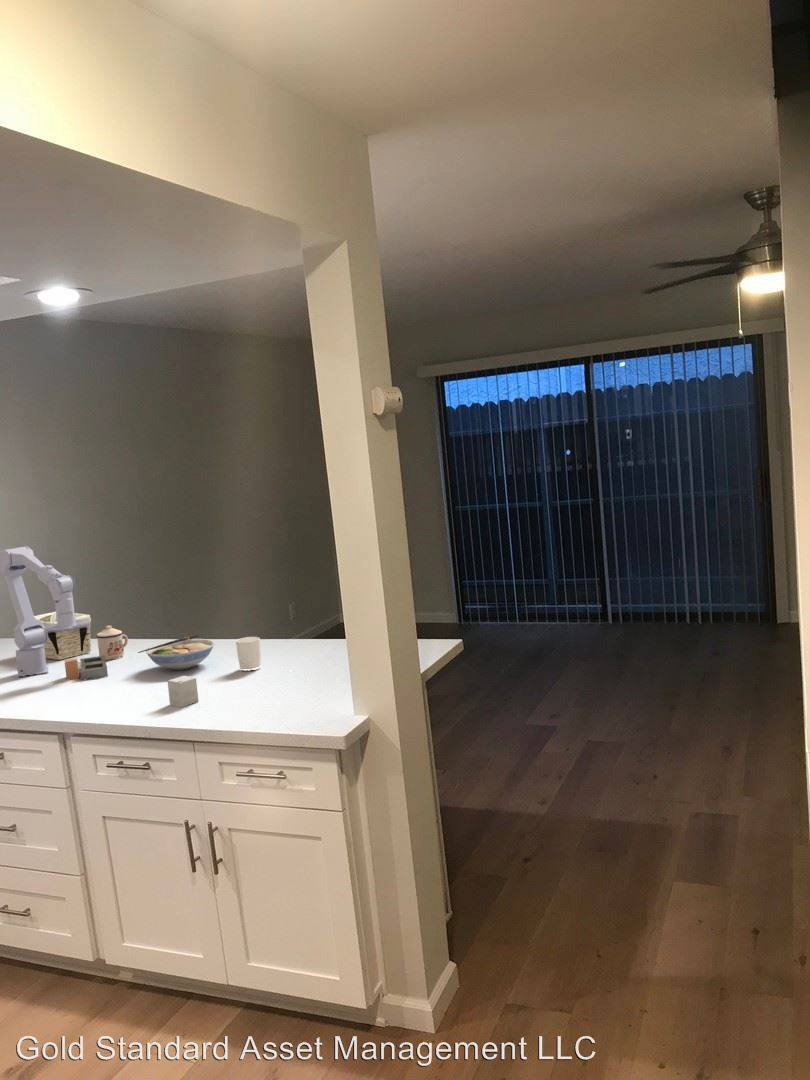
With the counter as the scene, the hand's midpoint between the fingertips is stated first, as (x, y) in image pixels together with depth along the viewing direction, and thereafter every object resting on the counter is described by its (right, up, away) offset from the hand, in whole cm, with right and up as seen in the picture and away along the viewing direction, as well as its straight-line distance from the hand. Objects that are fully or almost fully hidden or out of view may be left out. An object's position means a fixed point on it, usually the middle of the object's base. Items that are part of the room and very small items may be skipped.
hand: (70, 652), depth 304 cm
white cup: (+61, -5, -5) cm, 62 cm away
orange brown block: (+1, -9, +1) cm, 9 cm away
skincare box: (+48, -10, -40) cm, 63 cm away
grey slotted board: (+6, -8, +7) cm, 12 cm away
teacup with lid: (+6, -5, +29) cm, 30 cm away
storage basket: (-18, -6, +40) cm, 44 cm away
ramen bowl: (+37, -6, +4) cm, 37 cm away
